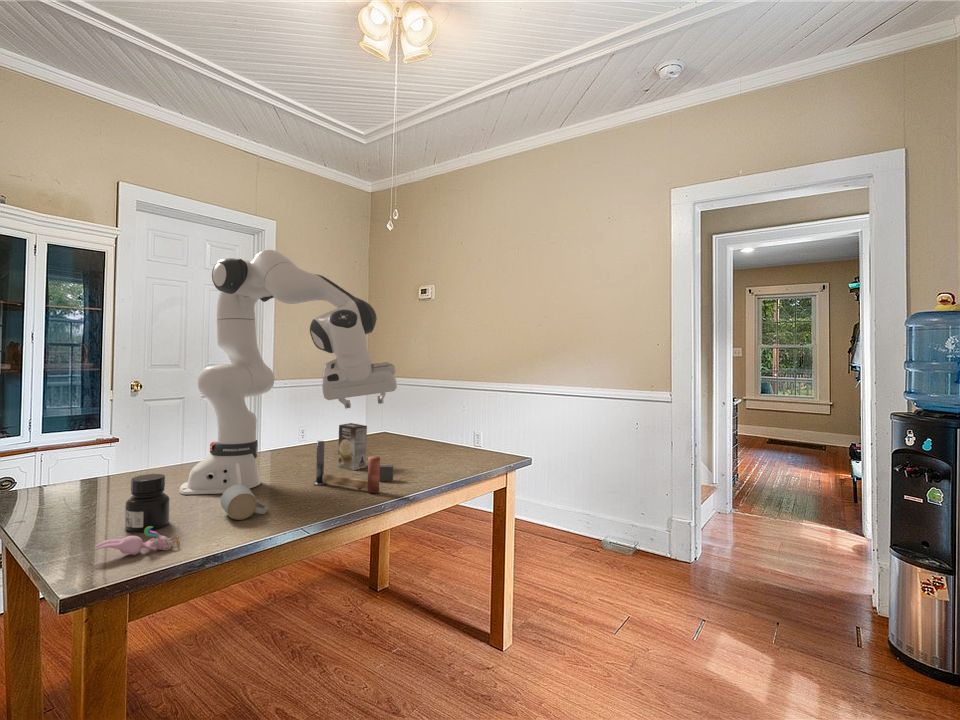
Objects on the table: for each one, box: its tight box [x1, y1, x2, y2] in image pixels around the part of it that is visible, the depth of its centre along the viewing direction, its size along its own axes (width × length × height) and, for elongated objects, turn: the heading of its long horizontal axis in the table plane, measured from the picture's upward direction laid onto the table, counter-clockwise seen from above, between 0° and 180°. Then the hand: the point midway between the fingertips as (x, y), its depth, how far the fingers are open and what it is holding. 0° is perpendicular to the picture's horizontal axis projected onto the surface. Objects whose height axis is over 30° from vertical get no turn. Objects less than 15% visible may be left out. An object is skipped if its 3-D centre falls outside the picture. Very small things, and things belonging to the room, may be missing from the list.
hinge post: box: [312, 440, 327, 486], centre depth 157 cm, size 4×4×14 cm
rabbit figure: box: [93, 526, 181, 556], centre depth 102 cm, size 6×6×15 cm
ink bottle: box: [124, 473, 170, 533], centre depth 117 cm, size 10×9×12 cm
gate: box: [322, 456, 381, 494], centre depth 152 cm, size 21×4×11 cm, turn 68°
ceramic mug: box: [220, 484, 268, 521], centre depth 126 cm, size 11×8×8 cm
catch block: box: [379, 464, 394, 481], centre depth 163 cm, size 5×2×5 cm, turn 98°
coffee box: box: [337, 422, 368, 471], centre depth 180 cm, size 9×6×16 cm
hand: (364, 404), depth 138 cm, fingers open, 8 cm apart
